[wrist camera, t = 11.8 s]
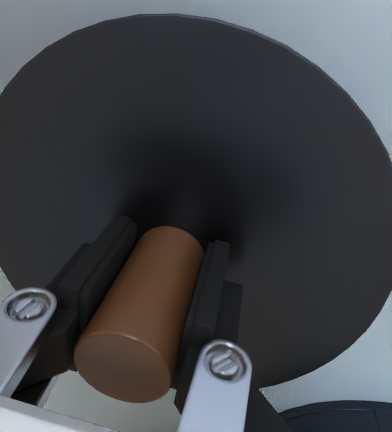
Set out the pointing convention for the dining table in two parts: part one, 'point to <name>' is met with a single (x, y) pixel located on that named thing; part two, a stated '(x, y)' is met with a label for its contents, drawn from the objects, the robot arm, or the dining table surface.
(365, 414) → the pan
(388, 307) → the dining table surface
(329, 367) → the dining table surface
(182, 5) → the dining table surface
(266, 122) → the pan lid
